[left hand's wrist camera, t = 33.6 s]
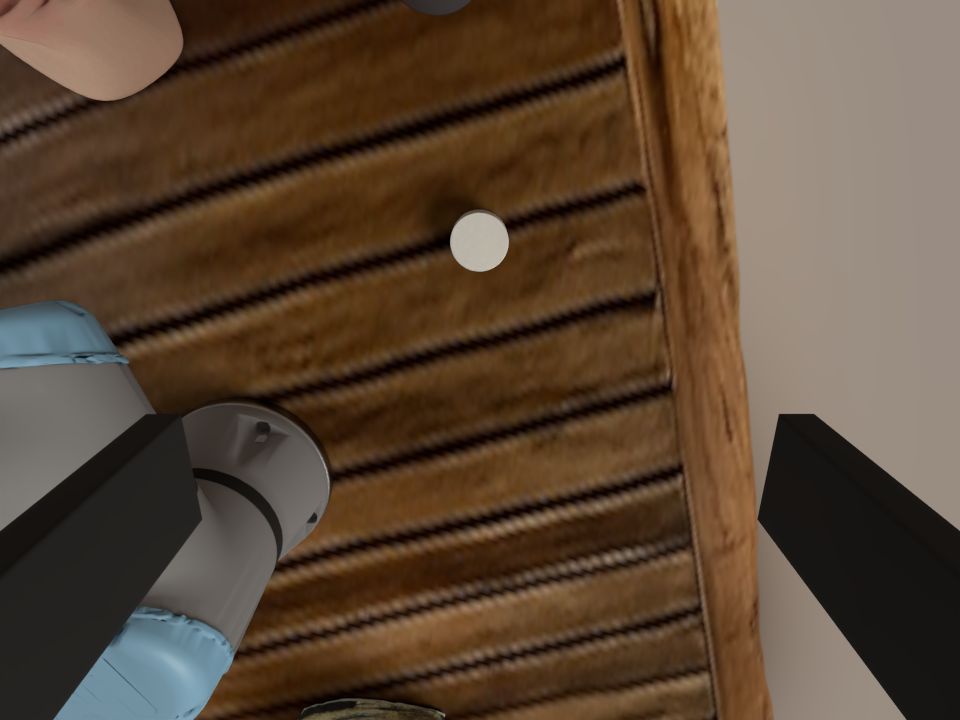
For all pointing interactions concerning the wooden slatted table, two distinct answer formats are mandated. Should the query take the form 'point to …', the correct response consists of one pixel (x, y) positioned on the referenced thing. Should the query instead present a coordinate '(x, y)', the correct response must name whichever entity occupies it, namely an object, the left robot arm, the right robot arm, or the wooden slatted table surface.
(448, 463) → the wooden slatted table surface
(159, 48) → the anatomical model
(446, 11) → the bottle
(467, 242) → the cap
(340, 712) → the fossil
